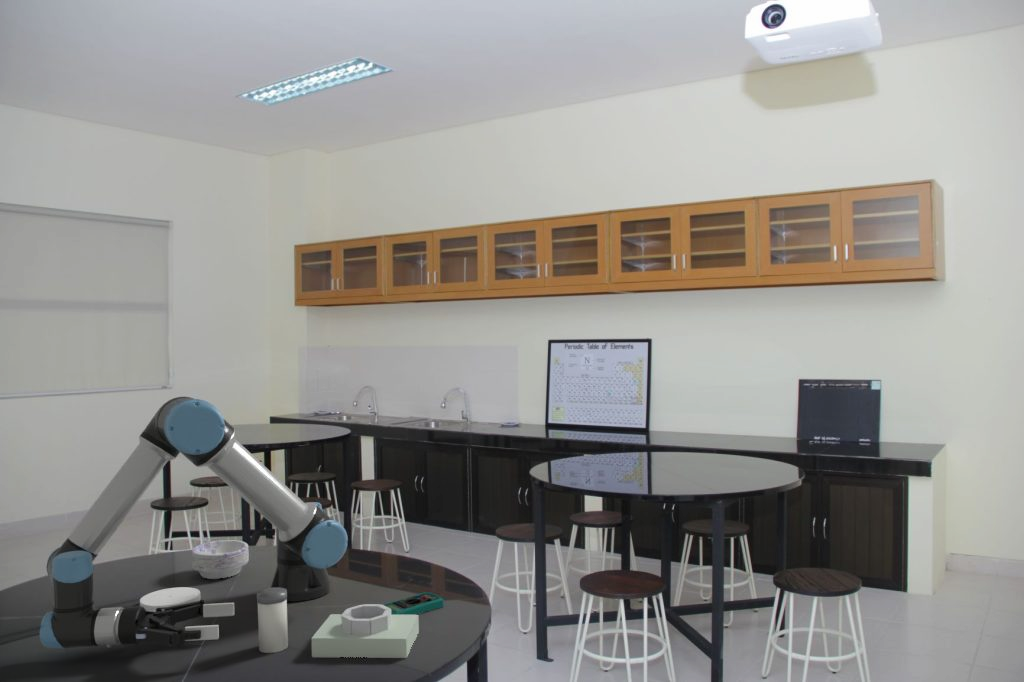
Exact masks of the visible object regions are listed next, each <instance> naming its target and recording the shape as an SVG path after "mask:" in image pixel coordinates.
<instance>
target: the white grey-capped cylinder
mask: <svg viewBox="0 0 1024 682" xmlns="http://www.w3.org/2000/svg"><path fill="white" fill-rule="evenodd" d="M256 602H257V623H258V624H257V625H258V626H257V627H258V651H260V653H265V654H273V653H274V654H275V653H280V652H281V651H285V650H286V649H287V648H288V647H289V637H288V636H289V633H288V631H289V630H288V628H289V627H288V606H287V605H288V603H287V602H288V601H287V590H286V589H285V588H279V587H275V588H271V587H268V588H264V589H261V590H259V591H257V592H256ZM284 649H285V650H284Z"/></svg>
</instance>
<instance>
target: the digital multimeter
mask: <svg viewBox="0 0 1024 682" xmlns="http://www.w3.org/2000/svg"><path fill="white" fill-rule="evenodd" d="M381 605H384V606H386V607H388V608H390V609H391V615H416V614H419V613H422V612H425V613H427V612H426V611H429V612H431V611H430V610H432V611H434V610H433V609H435V610H438V609H437V608H439V609H441V608H440V607H442V608H444V598H442V597H441V596H439V595H438V594H436V593H433V592H430V591H429V592H428V591H424V592H421V593H418V594H414V595H412V596H411V595H410V596H408V597H405V598H402V599H397V600H394V601H391V602H386V603H383V604H381ZM422 614H423V613H422ZM419 615H420V614H419Z"/></svg>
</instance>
